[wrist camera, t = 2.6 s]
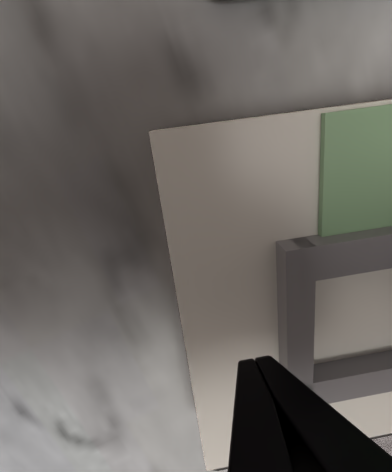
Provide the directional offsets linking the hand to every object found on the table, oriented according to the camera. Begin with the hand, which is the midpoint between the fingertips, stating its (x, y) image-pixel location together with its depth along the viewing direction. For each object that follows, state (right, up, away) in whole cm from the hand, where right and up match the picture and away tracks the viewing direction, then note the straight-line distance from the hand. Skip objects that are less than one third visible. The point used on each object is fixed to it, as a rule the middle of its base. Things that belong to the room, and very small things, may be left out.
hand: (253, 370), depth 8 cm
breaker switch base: (+7, +3, +4) cm, 9 cm away
